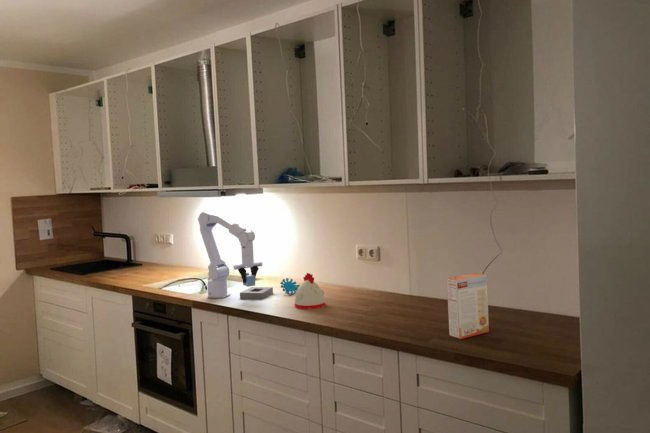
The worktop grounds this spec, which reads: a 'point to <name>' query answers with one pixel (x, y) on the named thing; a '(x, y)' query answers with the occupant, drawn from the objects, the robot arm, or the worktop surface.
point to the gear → (289, 286)
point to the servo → (250, 280)
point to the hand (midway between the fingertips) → (249, 282)
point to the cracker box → (467, 305)
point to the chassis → (256, 293)
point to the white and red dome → (309, 294)
